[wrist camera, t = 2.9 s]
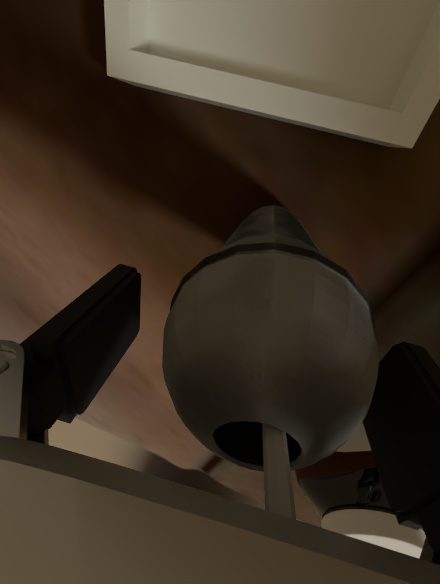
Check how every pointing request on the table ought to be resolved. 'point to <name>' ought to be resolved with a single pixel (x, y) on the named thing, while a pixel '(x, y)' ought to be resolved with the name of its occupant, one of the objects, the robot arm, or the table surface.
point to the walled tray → (288, 59)
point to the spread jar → (356, 498)
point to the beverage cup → (270, 352)
